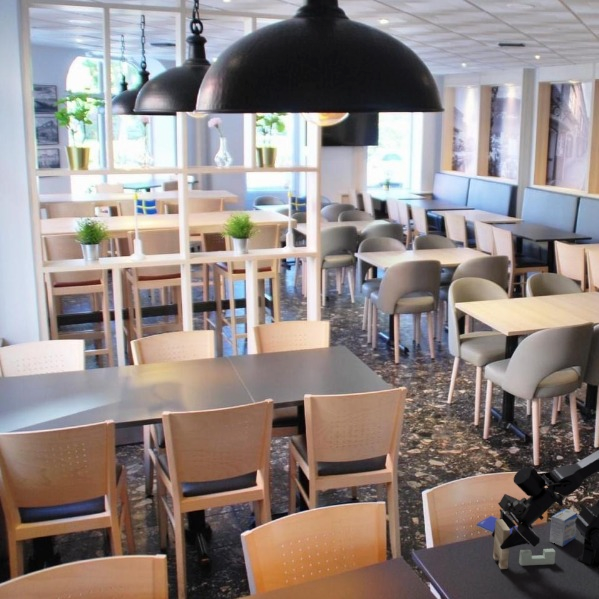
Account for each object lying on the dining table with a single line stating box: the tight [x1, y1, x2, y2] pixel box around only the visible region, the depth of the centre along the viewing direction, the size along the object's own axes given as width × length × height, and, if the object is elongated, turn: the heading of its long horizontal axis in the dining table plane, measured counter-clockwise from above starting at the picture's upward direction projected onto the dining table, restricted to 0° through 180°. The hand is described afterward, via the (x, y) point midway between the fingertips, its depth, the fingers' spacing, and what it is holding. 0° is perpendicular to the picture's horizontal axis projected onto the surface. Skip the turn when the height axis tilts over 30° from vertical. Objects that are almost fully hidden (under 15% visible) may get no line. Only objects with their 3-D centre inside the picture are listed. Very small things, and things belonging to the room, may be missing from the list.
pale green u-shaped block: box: [518, 548, 556, 566], centre depth 229 cm, size 10×2×4 cm, turn 96°
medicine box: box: [549, 508, 578, 547], centre depth 242 cm, size 8×4×9 cm, turn 132°
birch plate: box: [492, 518, 510, 570], centre depth 227 cm, size 2×6×12 cm, turn 6°
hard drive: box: [476, 515, 518, 534], centre depth 248 cm, size 2×8×12 cm
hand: (496, 542), depth 227 cm, fingers closed on birch plate, 6 cm apart
